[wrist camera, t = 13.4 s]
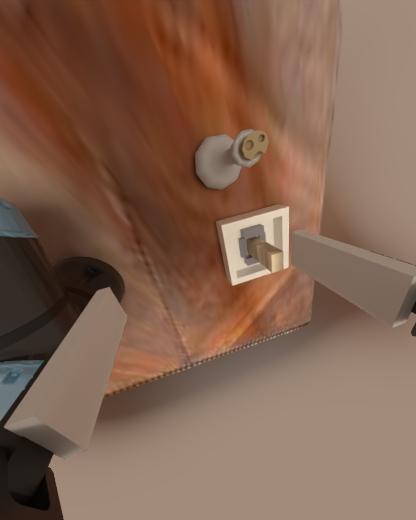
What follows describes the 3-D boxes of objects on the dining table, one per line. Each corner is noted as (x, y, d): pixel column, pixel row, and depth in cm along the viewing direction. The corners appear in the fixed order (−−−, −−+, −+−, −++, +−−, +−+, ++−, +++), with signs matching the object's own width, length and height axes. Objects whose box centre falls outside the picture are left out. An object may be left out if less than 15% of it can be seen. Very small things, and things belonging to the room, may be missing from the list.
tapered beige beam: (247, 252, 42) (272, 273, 32) (245, 238, 40) (271, 255, 30) (256, 250, 42) (283, 269, 32) (255, 235, 40) (283, 251, 30)
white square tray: (226, 276, 44) (232, 285, 40) (215, 221, 38) (221, 225, 34) (277, 260, 46) (288, 267, 42) (276, 204, 39) (288, 206, 35)
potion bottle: (240, 173, 35) (303, 161, 19) (206, 197, 35) (238, 205, 19) (221, 128, 31) (280, 63, 15) (182, 155, 31) (198, 121, 15)
